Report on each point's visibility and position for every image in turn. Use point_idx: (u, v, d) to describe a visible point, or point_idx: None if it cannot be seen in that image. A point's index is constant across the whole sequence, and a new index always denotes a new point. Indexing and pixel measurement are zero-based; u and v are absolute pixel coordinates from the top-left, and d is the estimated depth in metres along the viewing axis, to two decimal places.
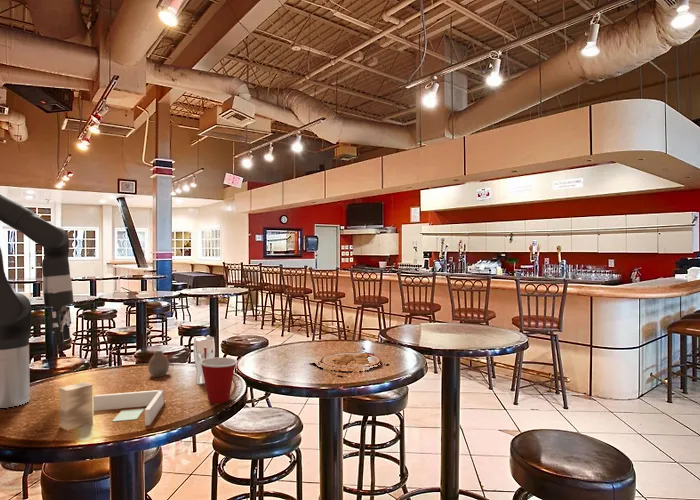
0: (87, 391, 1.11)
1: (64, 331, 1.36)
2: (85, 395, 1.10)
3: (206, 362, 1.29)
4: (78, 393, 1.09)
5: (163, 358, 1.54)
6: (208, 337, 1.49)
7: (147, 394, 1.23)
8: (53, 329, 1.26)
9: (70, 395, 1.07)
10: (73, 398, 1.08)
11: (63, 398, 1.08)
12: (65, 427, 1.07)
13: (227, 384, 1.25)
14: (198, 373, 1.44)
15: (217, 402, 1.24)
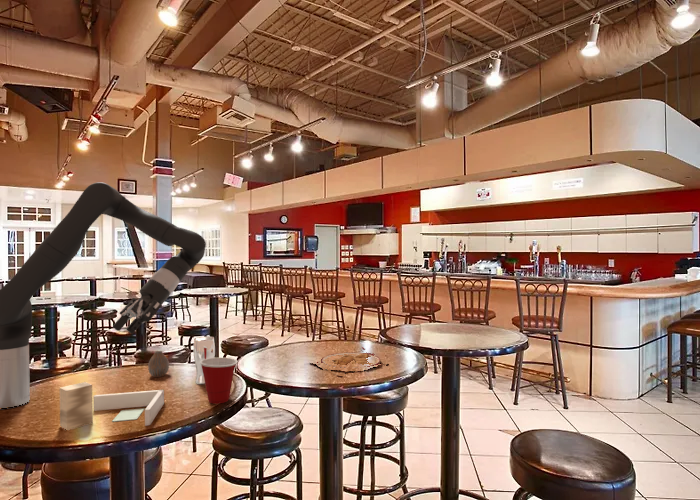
0: (87, 391, 1.11)
1: (122, 321, 1.24)
2: (85, 395, 1.10)
3: (206, 362, 1.29)
4: (78, 393, 1.09)
5: (163, 358, 1.54)
6: (208, 337, 1.49)
7: (147, 394, 1.23)
8: (145, 316, 1.18)
9: (70, 395, 1.07)
10: (73, 398, 1.08)
11: (63, 398, 1.08)
12: (65, 427, 1.07)
13: (227, 384, 1.25)
14: (198, 373, 1.44)
15: (217, 402, 1.24)
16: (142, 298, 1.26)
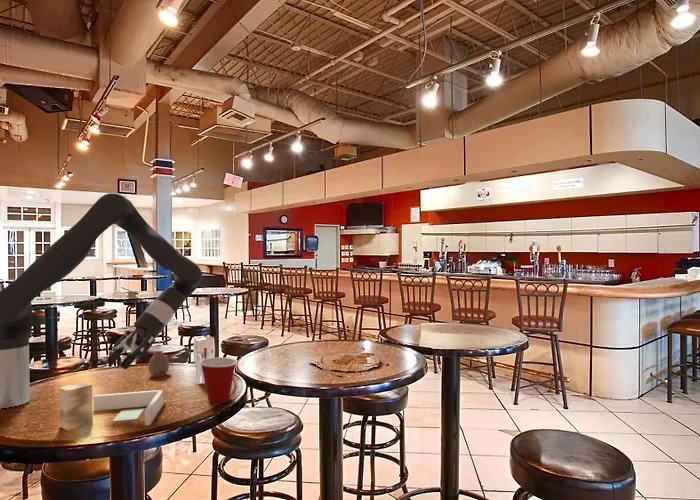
0: (87, 391, 1.11)
1: (115, 354, 1.22)
2: (85, 395, 1.10)
3: (206, 362, 1.29)
4: (78, 393, 1.09)
5: (163, 358, 1.54)
6: (208, 337, 1.49)
7: (147, 394, 1.23)
8: (139, 351, 1.17)
9: (70, 395, 1.07)
10: (73, 398, 1.08)
11: (63, 398, 1.08)
12: (65, 427, 1.07)
13: (227, 384, 1.25)
14: (198, 373, 1.44)
15: (217, 402, 1.24)
16: (136, 331, 1.25)
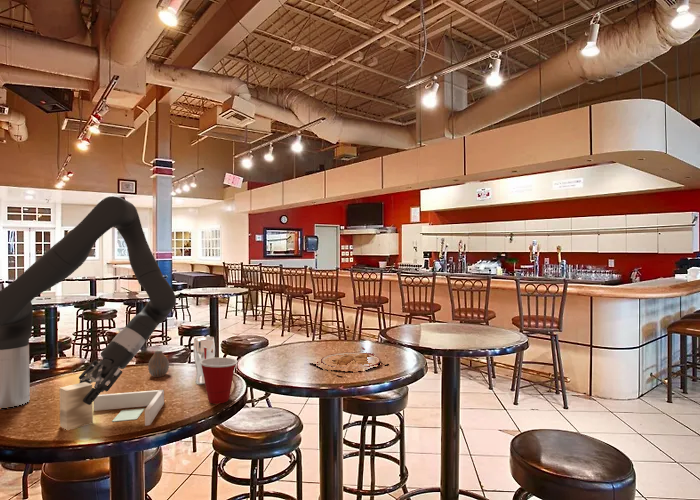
0: (87, 391, 1.11)
1: None
2: (85, 395, 1.10)
3: (206, 362, 1.29)
4: (78, 393, 1.09)
5: (163, 358, 1.54)
6: (208, 337, 1.49)
7: (147, 394, 1.23)
8: (103, 386, 1.09)
9: (70, 395, 1.07)
10: (73, 398, 1.08)
11: (63, 398, 1.08)
12: (65, 427, 1.07)
13: (227, 384, 1.25)
14: (198, 373, 1.44)
15: (217, 402, 1.24)
16: (103, 361, 1.17)
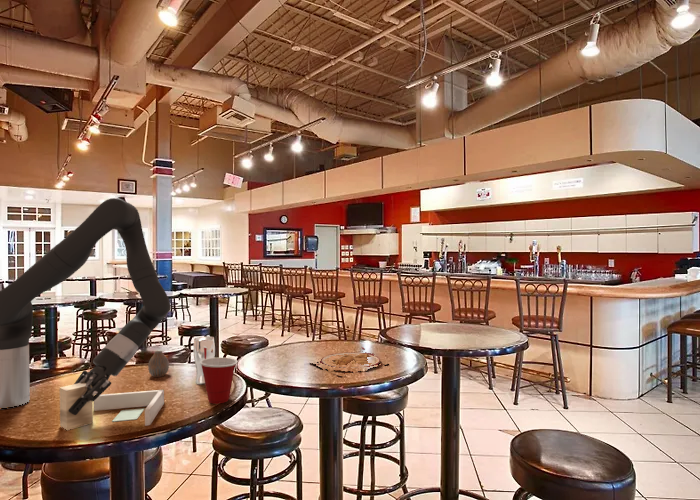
0: None
1: None
2: None
3: (206, 362, 1.29)
4: (78, 393, 1.09)
5: (163, 358, 1.54)
6: (208, 337, 1.49)
7: (147, 394, 1.23)
8: (89, 396, 1.08)
9: (70, 395, 1.07)
10: (73, 398, 1.08)
11: (63, 398, 1.08)
12: (65, 427, 1.07)
13: (227, 384, 1.25)
14: (198, 373, 1.44)
15: (217, 402, 1.24)
16: (95, 369, 1.16)
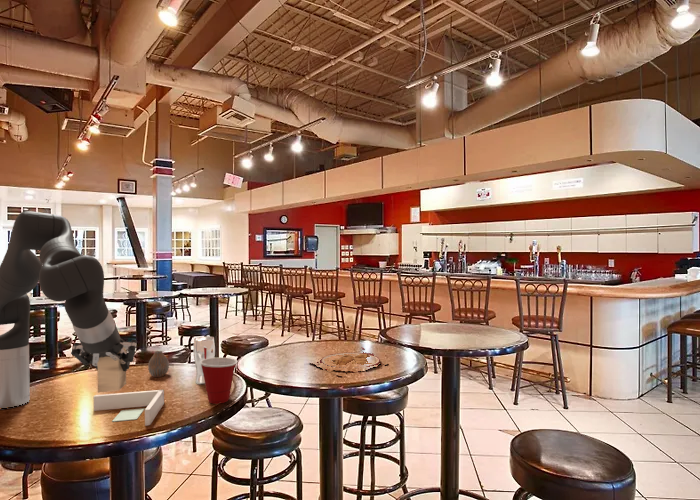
0: None
1: None
2: None
3: (206, 362, 1.29)
4: None
5: (163, 358, 1.54)
6: (208, 337, 1.49)
7: (147, 394, 1.23)
8: None
9: None
10: None
11: None
12: None
13: (227, 384, 1.25)
14: (198, 373, 1.44)
15: (217, 402, 1.24)
16: None
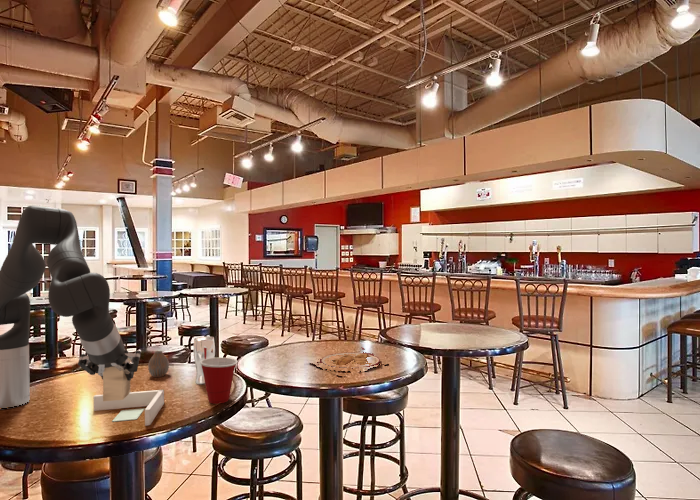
0: None
1: None
2: None
3: (206, 362, 1.29)
4: None
5: (163, 358, 1.54)
6: (208, 337, 1.49)
7: (147, 394, 1.23)
8: None
9: None
10: None
11: None
12: None
13: (227, 384, 1.25)
14: (198, 373, 1.44)
15: (217, 402, 1.24)
16: None
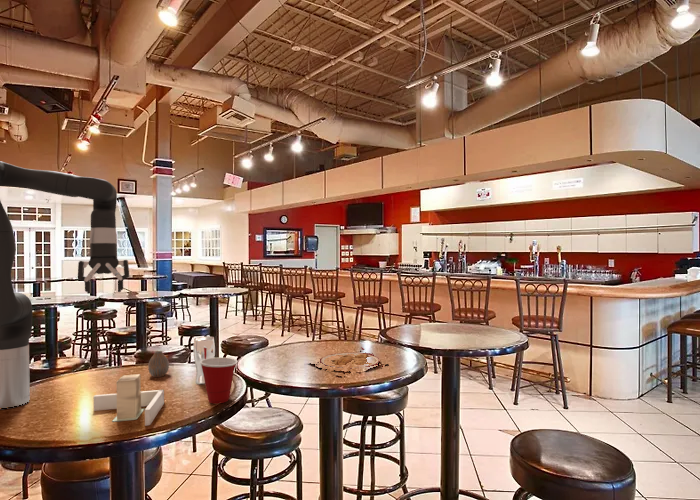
0: None
1: (118, 283, 1.39)
2: None
3: (206, 362, 1.29)
4: None
5: (163, 358, 1.54)
6: (208, 337, 1.49)
7: (147, 394, 1.23)
8: None
9: None
10: None
11: None
12: None
13: (227, 384, 1.25)
14: (198, 373, 1.44)
15: (217, 402, 1.24)
16: None
